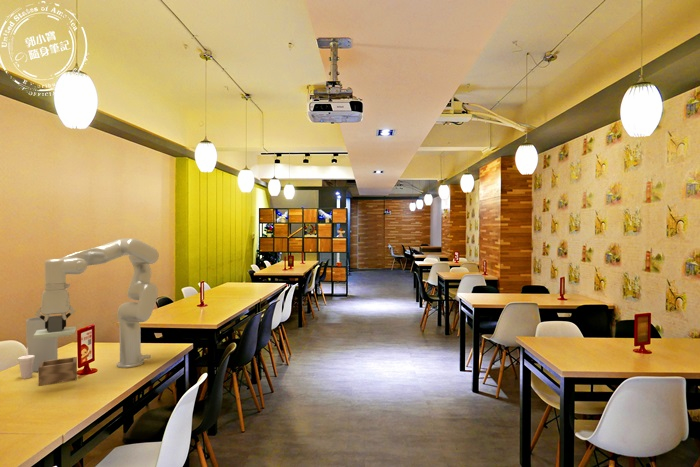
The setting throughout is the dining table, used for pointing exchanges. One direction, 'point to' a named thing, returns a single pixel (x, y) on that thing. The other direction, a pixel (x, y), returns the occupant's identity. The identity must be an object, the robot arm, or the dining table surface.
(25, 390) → the dining table surface
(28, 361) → the smoothie
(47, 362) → the wooden box
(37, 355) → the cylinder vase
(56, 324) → the lid
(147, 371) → the dining table surface
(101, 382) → the dining table surface
